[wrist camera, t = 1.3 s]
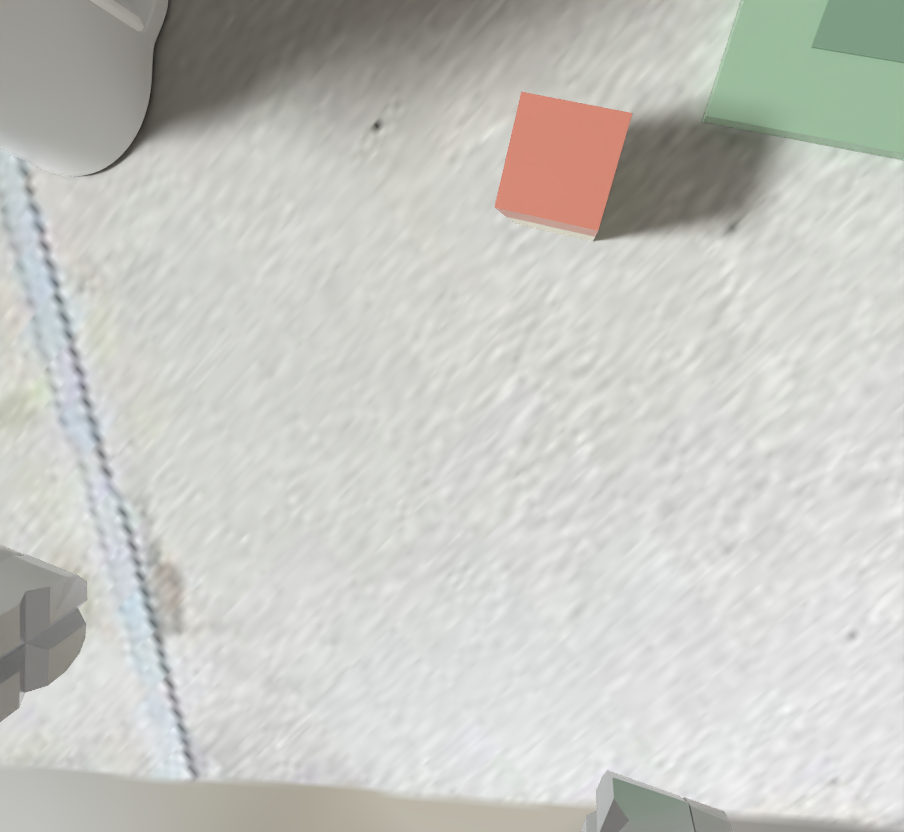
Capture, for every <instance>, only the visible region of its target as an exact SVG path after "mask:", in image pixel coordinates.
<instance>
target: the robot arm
mask: <svg viewBox="0 0 904 832" xmlns="http://www.w3.org/2000/svg"><path fill="white" fill-rule="evenodd" d="M167 8H168V0H0V149H1V150H3V151H5V152H8V153H10V154H12V155H14V156H16V157H18V158H21V159H23V160H25V161H27V162H29V163H30V164H32V165H34V166H36V167H38V168H40V169H42V170H44V171H47V172H50V173H53V174H57V175H62V176H83V175H88V174H92V173H95V172H97V171H100V170H102V169H104V168H106V167H107V166H109V165H110V164H112V163H113V162H114V161H116V160H117V159H118V158H119V157H120V156H121V155H122V154H123V153H124V152H125V151H126V150H127V148H128V147H129V146H130V144H131V143H132V141H133V140H134V138H135V137H136V135H137V133H138V131H139V129H140V127H141V124H142V122H143V119H144V117H145V114H146V110H147V107H148V102H149V98H150V92H151V83H152V63H153V50H154V45H155V41H156V39H157V37H158V34H159V32H160V29H161V27H162V24H163V21H164V19H165V16H166V12H167ZM86 600H87V581H85V580H84V579H83V578H81V577H80V576H78V575H76V574H74V573H71V572H69V571H66V570H64V569H61V568H59V567H56V566H54V565H51V564H49V563H46V562H44V561H41V560H39V559H36V558H34V557H31V556H29V555H24V554H22V553H19V552H17V551H14V550H12V549H10V548H7V547H5V546H2V545H0V722H1V721H2V720H4V719H5V718H6V717H7V716H9V715H10V714H11V713H13V712H14V711H15V710H17V709H18V708H19V707H20V704H21V702H22V699H23V697H24V694H25V692H28V691H32V690H35V689H38V688H41V687H44V686H48V685H49V684H50V683H52V682H53V681H54V680H55V679H57V678H58V677H59V676H60V675H62V674H63V673H64V672H65V671H66V670H67V669H68V668H69V666H70V665H71V664H72V662H73V661H74V660H75V658H76V657H77V656H78V654H79V653H80V650H81V648H82V645H83V642H84V639H85V633H86V623H85V621H84V619H83V617H82V615H81V613H80V611H79V609H78V608H79V607H80V606H81V605H82V604H83V603H84V602H85V601H86ZM596 803H597V811H595V812H593V813H591V814H589V815H587V816H586V819H585V821H584V824H583V827H582V829H581V832H733V829H732V825H731V822H730V819H729V818H728V817H727V815H726V814H725V812H724V811H721V810H718V809H716V808H713V807H710V806H707V805H704V804H701V803H699V802H696V801H693V800H690V799H687V798H681V797H680V796H678V795H675V794H672V793H670V792H667V791H664V790H661V789H658V788H656V787H653V786H650V785H647V784H644V783H642V782H639V781H636V780H633V779H631V778H628V777H625V776H622V775H619V774H617V773H614V772H611V771H608V770H607V771H606V773H605V774H604V775H603V776H602V778H601V781H600V783H599V786H598V788H597V790H596Z"/></svg>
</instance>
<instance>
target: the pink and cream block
mask: <svg viewBox="0 0 904 832" xmlns="http://www.w3.org/2000/svg"><path fill="white" fill-rule="evenodd" d="M631 116H632V113H629V112H623V111H618V110H613V109H608V108H603V107H597V106H592V105H587V104H582V103H577V102H571V101H566V100H561V99H556V98H551V97H545V96H540V95H535V94H530V93H525V92H521V96H520V100H519V105H518V109H517V113H516V118H515V122H514V126H513V130H512V135H511V139H510V143H509V148H508V152H507V156H506V160H505V165H504V169H503V173H502V177H501V182H500V186H499V190H498V195H497V199H496V203H495V208H496V209H497V210H499V211H500V212H501V213H502V214H504V215H505V216H506V217H507V218H509V219H510V220H511V221H512V222H514V223H515V224H519V225H523V226H527V227H532V228H536V229H541V230H545V231H549V232H554V233H558V234H563V235H567V236H571V237H576V238H580V239H584V240H589V241H593V240H594V238H595V236H596V234H597V232H598V230H599V227H600V223H601V220H602V216H603V213H604V210H605V206H606V203H607V199H608V196H609V192H610V189H611V185H612V182H613V178H614V175H615V171H616V168H617V165H618V161H619V158H620V154H621V151H622V147H623V144H624V140H625V137H626V133H627V130H628V127H629V123H630V120H631Z"/></svg>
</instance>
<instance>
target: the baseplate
mask: <svg viewBox="0 0 904 832" xmlns="http://www.w3.org/2000/svg"><path fill="white" fill-rule="evenodd" d="M702 122H706V123H712V124H717V125H722V126H727V127H732V128H738V129H743V130H748V131H753V132H759V133H764V134H769V135H774V136H779V137H785V138H790V139H795V140H800V141H806V142H811V143H816V144H821V145H827V146H832V147H837V148H842V149H847V150H853V151H858V152H863V153H868V154H874V155H879V156H884V157H889V158H894V159H900V160H904V0H741V2H740V5H739V8H738V12H737V15H736V18H735V21H734V24H733V27H732V30H731V33H730V36H729V39H728V42H727V46H726V49H725V52H724V55H723V58H722V61H721V64H720V67H719V70H718V73H717V76H716V79H715V83H714V86H713V89H712V92H711V95H710V98H709V101H708V104H707V107H706V110H705V113H704V117H703V120H702Z"/></svg>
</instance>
